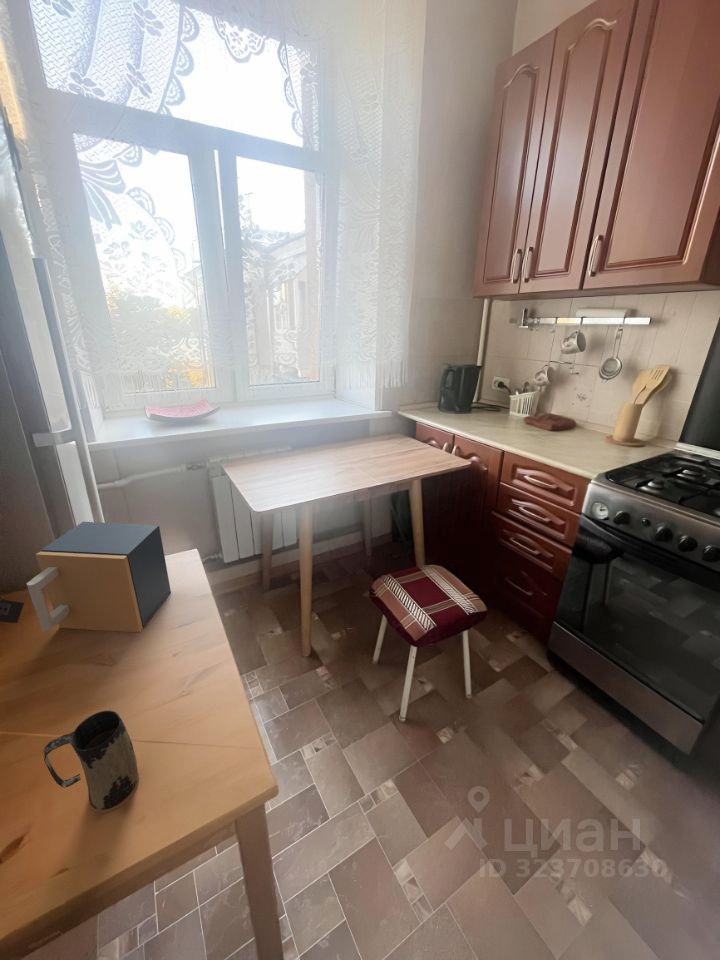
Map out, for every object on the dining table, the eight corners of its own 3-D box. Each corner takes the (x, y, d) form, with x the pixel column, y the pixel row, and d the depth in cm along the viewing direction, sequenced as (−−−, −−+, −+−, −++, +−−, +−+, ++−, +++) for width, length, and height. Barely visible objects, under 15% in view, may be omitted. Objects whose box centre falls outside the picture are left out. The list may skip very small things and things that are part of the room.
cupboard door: (123, 654, 71) (104, 576, 65) (37, 649, 71) (9, 571, 65) (143, 628, 77) (127, 555, 70) (62, 624, 77) (40, 551, 71)
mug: (135, 756, 54) (118, 694, 50) (145, 791, 51) (127, 727, 46) (66, 795, 50) (40, 730, 45) (70, 837, 46) (42, 770, 41)
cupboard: (143, 628, 77) (127, 554, 71) (64, 624, 77) (40, 549, 71) (171, 592, 87) (159, 525, 81) (100, 589, 87) (83, 521, 81)
